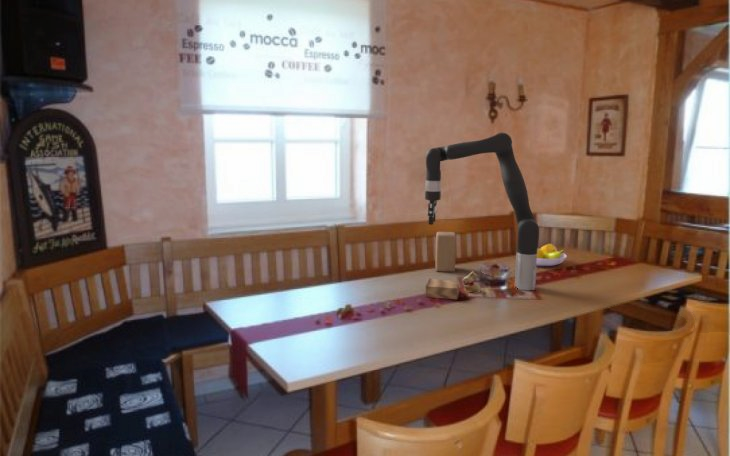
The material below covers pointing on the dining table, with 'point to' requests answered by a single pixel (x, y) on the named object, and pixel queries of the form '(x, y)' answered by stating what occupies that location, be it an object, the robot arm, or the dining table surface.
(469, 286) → the chocolate bunny
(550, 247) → the fruit bowl
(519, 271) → the robot arm
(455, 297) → the oak step
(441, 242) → the wooden block
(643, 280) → the dining table surface
